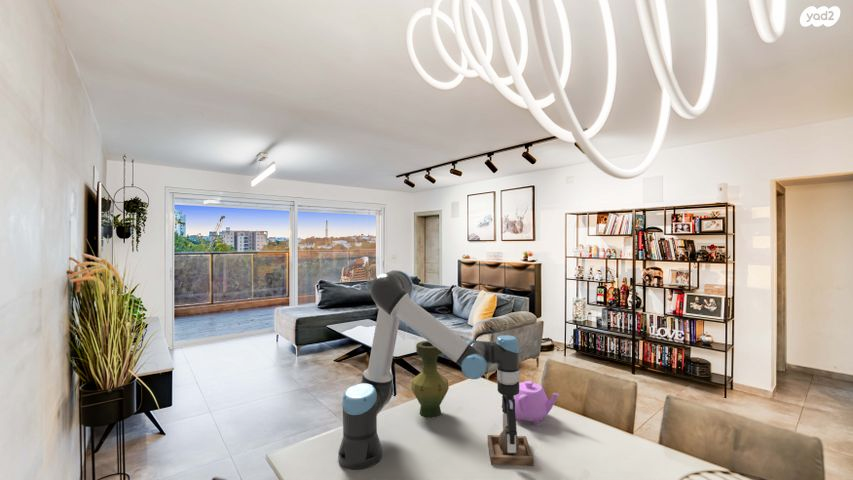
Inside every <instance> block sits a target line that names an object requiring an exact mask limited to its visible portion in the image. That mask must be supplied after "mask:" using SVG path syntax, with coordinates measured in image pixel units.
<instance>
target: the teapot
mask: <svg viewBox="0 0 853 480" xmlns="http://www.w3.org/2000/svg"><path fill="white" fill-rule="evenodd" d="M559 396H560V395H559V393H556V392H553V393H552V396H551V397H550V398H549V399H548V396H547V393H546V392H545V390H544V387H543V386H542V385H541V384H538V383H536V382H533V381H531V380H526V381H521V382H519V393H518V394H517V395H514V399H515V415H516V422H518V421H522V420H523V421H528V422H531V424H532V425H534V426H539V425H540V422H541V421H542V420H544V419H545V418H546V417H547V416H548V414H549V413H550V411H551V410H552V409H553V407H554V405H555V403H556V401H557V399H558V397H559Z"/></svg>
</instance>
